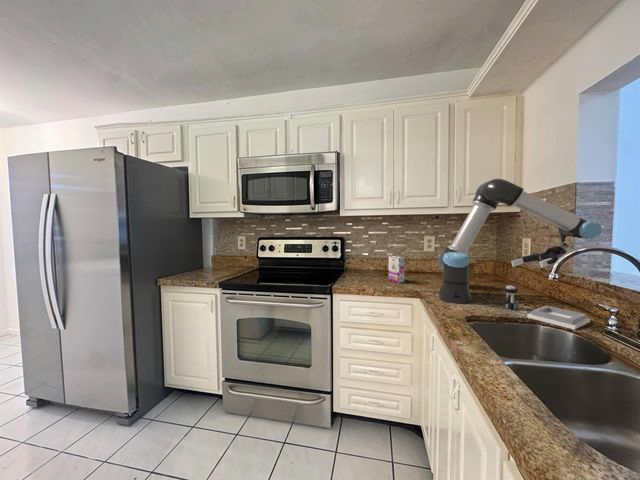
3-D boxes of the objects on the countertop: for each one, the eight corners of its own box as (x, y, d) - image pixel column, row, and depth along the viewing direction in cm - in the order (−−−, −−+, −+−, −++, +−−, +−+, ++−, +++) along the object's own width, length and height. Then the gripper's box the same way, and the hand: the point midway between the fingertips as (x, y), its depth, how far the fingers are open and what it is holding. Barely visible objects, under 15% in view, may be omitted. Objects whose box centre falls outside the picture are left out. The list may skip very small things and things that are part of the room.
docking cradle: (527, 317, 113) (527, 310, 113) (543, 311, 121) (544, 304, 120) (574, 329, 100) (575, 321, 100) (589, 322, 108) (590, 314, 108)
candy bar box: (404, 282, 178) (405, 257, 177) (398, 283, 176) (399, 257, 175) (393, 279, 188) (394, 255, 187) (387, 279, 187) (388, 255, 185)
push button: (498, 305, 129) (499, 284, 129) (510, 305, 129) (510, 284, 129) (507, 309, 123) (508, 287, 122) (519, 310, 123) (520, 287, 122)
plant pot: (441, 284, 173) (442, 259, 172) (463, 283, 175) (464, 258, 174) (456, 290, 158) (457, 262, 157) (480, 289, 160) (481, 262, 159)
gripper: (591, 261, 121) (556, 273, 116) (534, 260, 145) (504, 270, 140) (587, 244, 121) (552, 256, 116) (531, 246, 145) (500, 256, 140)
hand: (525, 264), depth 128 cm, fingers open, 13 cm apart
